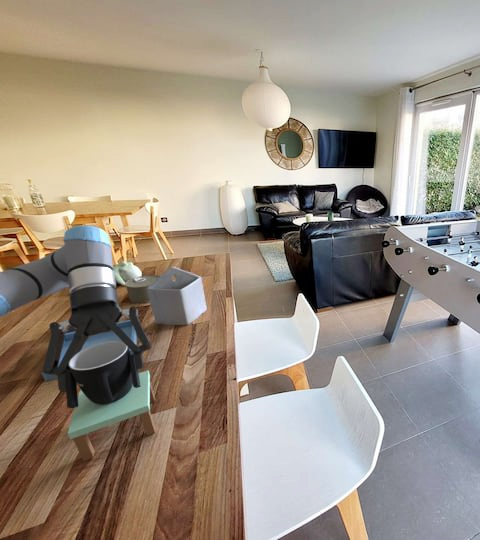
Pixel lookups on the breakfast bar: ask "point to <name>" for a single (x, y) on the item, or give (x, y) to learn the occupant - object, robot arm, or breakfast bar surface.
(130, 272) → the figurine
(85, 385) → the mug
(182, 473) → the breakfast bar surface
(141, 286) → the can
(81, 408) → the stool
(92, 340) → the tray
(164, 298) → the planter
